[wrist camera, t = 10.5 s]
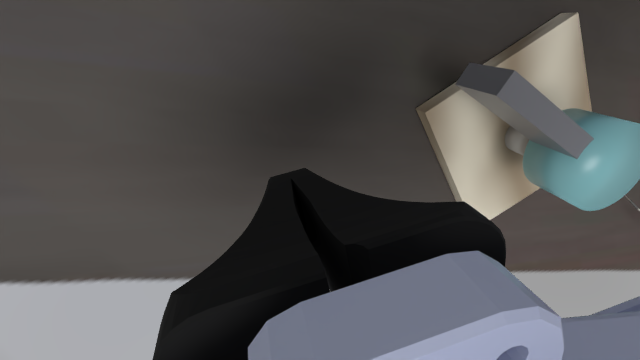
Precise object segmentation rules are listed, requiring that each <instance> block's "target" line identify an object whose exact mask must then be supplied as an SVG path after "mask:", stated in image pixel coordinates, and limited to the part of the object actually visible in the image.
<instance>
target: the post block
mask: <svg viewBox="0 0 640 360" xmlns="http://www.w3.org/2000/svg"><path fill="white" fill-rule="evenodd" d="M483 65H487V66H493V67H499V68H505V69H511V70H515V71H516V72H518V73H519V74H520V75H521V76H522V77H523V78H525V79H526V80H527V81H528V82H529V83H530V84H531V85H533V86H534V87H535V88H536V89H537V90H538V91H540V92H541V93H542V94H543V95H544V96H545V97H547V98H548V99H549V100H550V101H551V102H552V103H553V104H555V105H556V106H557V107H558V108H559V109H560V110H565V109H570V108H578V109H582V110H586V111H590V112H592V110H591V102H590V95H589V88H588V81H587V73H586V66H585V59H584V52H583V44H582V37H581V30H580V22H579V15H578V13H560V14H559V15H557V16H556V17H554V18H553V19H551V20H550V21H548V22H547V23H545V24H543V25H542V26H540V27H539V28H537V29H536V30H534V31H533V32H531V33H530V34H528V35H527V36H525V37H524V38H522V39H521V40H519V41H518V42H516V43H515V44H513V45H512V46H510V47H508V48H507V49H505V50H504V51H502V52H501V53H499V54H498V55H496V56H495V57H493V58H492V59H490V60H489V61H487V62H486V63H484V64H483ZM455 84H456V82H455V83H454V84H452V85H451V86H449V87H448V88H446V89H445V90H443V91H442V92H440V93H438V94H437V95H435V96H434V97H432V98H431V99H429V100H428V101H426V102H425V103H423V104H422V105H420V106H419V107H417V108H416V111H417V113H418V115H419V118H420V120H421V122H422V124H423V127H424V129H425V131H426V134H427V136H428V138H429V140H430V143H431V145H432V147H433V150H434V152H435V154H436V156H437V159H438V161H439V163H440V166H441V168H442V170H443V173H444V175H445V177H446V179H447V182H448V184H449V186H450V189H451V191H452V193H453V195H454V198H455V200H456V202H462V201H464V202H466V203H467V204H469V205H470V206H472V207H473V208H474V209H476V210H477V211H478V212H480V213H481V214H482V215H484V216H485V217H486V218H488V219H489V220H491V219H492V218H494V217H496V216H497V215H499V214H500V213H502V212H503V211H505V210H507V209H508V208H510V207H511V206H513V205H514V204H516V203H517V202H519V201H521V200H522V199H524V198H525V197H527V196H528V195H530V194H532V193H533V192H535V191H536V190H538V189H539V188H540V187H538V186H536V185H535V184H533V183H531V182H530V181H529V180H528V179H527V178H526V176H525V174H524V171H523V156H524V152H525V149H526V146H527V144H528V142H529V139H527V138H526V137H525V136H523V135H522V134H521V133H519V132H518V131H517V130H515V129H514V128H513V127H511V126H510V125H509V124H507V123H506V122H505V121H503V120H502V119H501V118H499V117H498V116H497V115H495V114H494V113H493V112H491V111H490V110H489V109H487V108H486V107H485V106H483V105H482V104H481V103H479V102H478V101H477V100H475V99H474V98H473V97H471V96H470V95H469V94H467V93H466V92H465V91H463V90H462V89H460V88H459V87H458V86H456V85H455Z"/></svg>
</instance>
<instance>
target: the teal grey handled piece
mask: <svg viewBox="0 0 640 360" xmlns="http://www.w3.org/2000/svg"><path fill="white" fill-rule="evenodd" d="M455 85H456V86H458V87H459V88H460V89H462V90H463V91H465V92H466V93H467V94H469V95H470V96H471V97H473V98H474V99H475V100H477V101H478V102H479V103H481V104H482V105H483V106H485V107H486V108H487V109H489V110H490V111H491V112H493V113H494V114H495V115H497V116H498V117H499V118H501V119H502V120H503V121H505V122H506V123H507V124H509V125H510V126H511V127H513V128H514V129H515V130H517V131H518V132H519V133H521V134H522V135H523V136H525V137H526V138H527V139H529V142H528V144H527V146H526V149H525V152H524V156H523V171H524V174H525V176H526V178H527V179H528V180H529V181H530V182H531V183H533V184H535V185H536V186H538V187H540V188H542V189H544V190H546V191H548V192H550V193H552V194H553V195H555V196H557V197H559V198H561V199H563V200H565V201H567V202H568V203H570V204H572V205H574V206H576V207H578V208H580V209H582V210H586V211H594V210H599V209H602V208H605V207H607V206H609V205H611V204H613V203H615V202H616V201H618V200H619V199H620V198H622V197H623V196H624V195H625V194H626V193H628V192H629V191H630V190H631V189H632V188H633V186H634V185H635V184H636V183H637V182H638V180H639V179H640V124H639V123H635V122H630V121H626V120H622V119H618V118H614V117H610V116H606V115H602V114H598V113H594V112H590V111H586V110H582V109H578V108H570V109H565V110H560V109H559V108H558V107H557V106H556V105H555V104H553V103H552V102H551V101H550V100H549V99H548V98H547V97H545V96H544V95H543V94H542V93H541V92H540V91H538V90H537V89H536V88H535V87H534V86H533V85H531V84H530V83H529V82H528V81H527V80H526V79H525V78H523V77H522V76H521V75H520V74H519V73H518V72H516V71H515V70H511V69H505V68H499V67H493V66H487V65H481V64H475V63H469V64H468V66H467V67H466V69H465V70H464V72H463V73H462V75H461V76H460V78H459V79H458V81H457V82H456V84H455Z"/></svg>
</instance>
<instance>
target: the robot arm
mask: <svg viewBox="0 0 640 360" xmlns="http://www.w3.org/2000/svg"><path fill="white" fill-rule="evenodd" d="M505 259H506V245H505V239H504V237H503V235H502V232H501V230H500V229H499V228H498V227H497V226H496V225H495V224H494V223H493V222H492V221H490V220H489V219H488V218H486V217H485V216H484V215H482V214H481V213H480V212H478V211H477V210H476V209H474V208H473V207H472V206H470V205H469V204H467V203H466V202H464V201H462V202H435V203H425V202H406V201H396V200H389V199H383V198H377V197H373V196H369V195H365V194H361V193H358V192H354V191H351V190H349V189H346V188H344V187H341V186H339V185H336V184H334V183H332V182H330V181H328V180H326V179H324V178H322V177H320V176H318V175H316V174H315V173H313V172H311V171H309V170H308V169H306V168H303V169H299V170H295V171H292V172H288V173H285V174H281V175H277V176H274V177H270V179H269V181H268V185H267V188H266V191H265V194H264V197H263V199H262V202H261V204H260V206H259V208H258V210H257V212H256V214H255V216H254V217H253V219H252V221H251V223H250V224H249V226H248V227H247V228H246V230H245V231H244V232H243V234H242V235H241V236H240V237H239V238H238V239H237V240H236V242H235V243H234V244H233V245H232V246H231V247H230V248H229V249H228V250H227V251H226V252H225V253H224V254H223V255H222V256H221V257H220V258H219V259H217V260H216V261H215V262H214V263H213V264H211V265H210V266H209V267H208V268H207V269H205V270H204V271H203V272H201V273H200V274H199V275H197V276H196V277H194V278H193V279H191V280H190V281H189V282H187V283H186V284H184V285H183V286H181V287H180V288H178V289H177V290H175V291H173V292H172V293H171V295H170V299H169V301H168V304H167V307H166V309H165V312H164V315H163V319H162V322H161V325H160V330H159V334H158V339H157V343H156V347H155V352H154V356H153V360H640V296H639V297H637V298H634V299H632V300H629V301H626V302H624V303H621V304H618V305H616V306H613V307H611V308H608V309H605V310H603V311H600V312H597V313H595V314H592V315H589V316H580V317H570V318H561V317H560V316H559V315H558V314H556V313H555V312H554V311H553V310H552V309H551V308H550V307H548V306H547V305H546V304H545V303H544V302H543V301H542V300H541V299H540V298H538V297H537V296H536V295H535V294H534V293H533V292H532V291H531V290H530V289H528V288H527V287H526V286H525V285H524V284H523V283H522V282H521V281H519V280H518V279H517V278H516V277H515V276H514V275H513V274H512V273H511V272H509V271H508V270H507V269H506V268H505ZM329 289H330V290H329Z"/></svg>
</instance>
